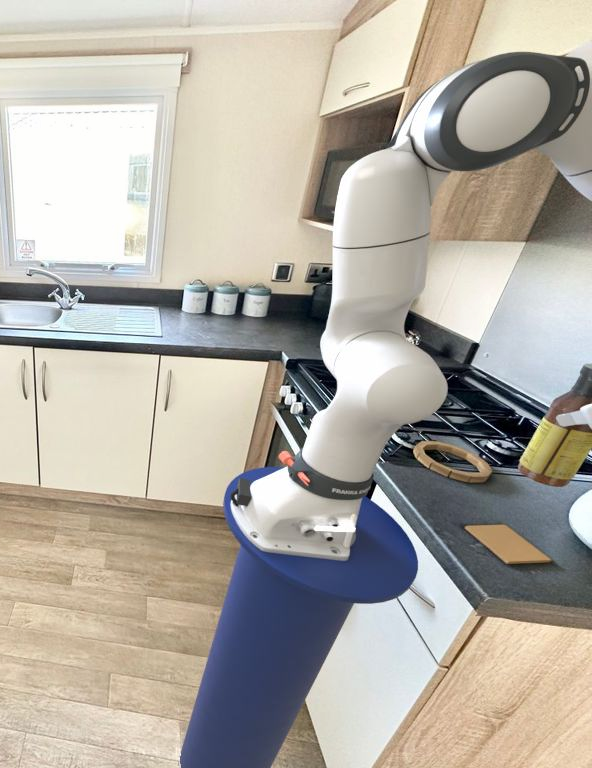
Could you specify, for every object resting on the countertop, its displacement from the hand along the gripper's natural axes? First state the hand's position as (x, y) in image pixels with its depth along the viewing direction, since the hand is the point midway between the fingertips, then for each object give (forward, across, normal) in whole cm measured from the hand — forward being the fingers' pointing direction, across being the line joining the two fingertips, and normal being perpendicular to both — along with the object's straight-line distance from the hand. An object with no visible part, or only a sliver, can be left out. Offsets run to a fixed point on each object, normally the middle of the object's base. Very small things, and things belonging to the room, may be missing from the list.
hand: (571, 416), depth 64 cm
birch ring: (+29, -16, +6) cm, 34 cm away
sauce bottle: (+8, 0, +9) cm, 12 cm away
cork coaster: (+16, +2, +19) cm, 25 cm away
